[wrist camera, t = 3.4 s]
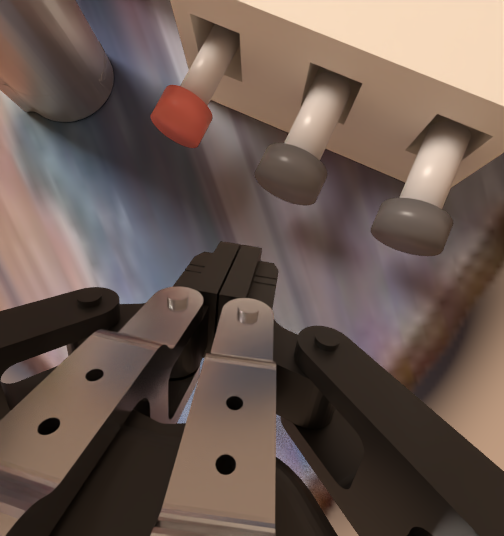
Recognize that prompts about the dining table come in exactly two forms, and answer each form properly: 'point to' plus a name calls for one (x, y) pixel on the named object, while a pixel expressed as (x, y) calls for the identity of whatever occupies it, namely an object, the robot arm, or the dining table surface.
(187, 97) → the red knob
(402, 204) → the knob
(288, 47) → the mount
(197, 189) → the dining table surface
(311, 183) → the knob
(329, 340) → the robot arm
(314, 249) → the dining table surface
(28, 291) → the dining table surface
